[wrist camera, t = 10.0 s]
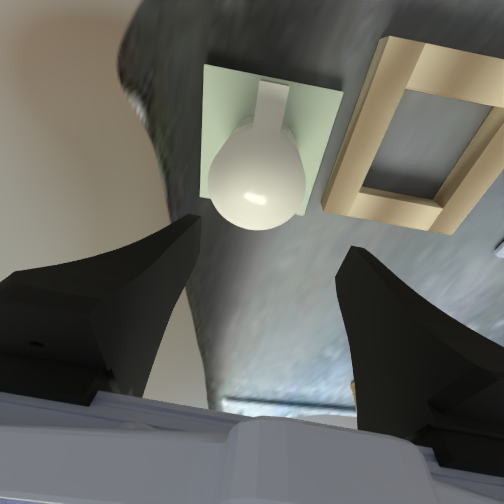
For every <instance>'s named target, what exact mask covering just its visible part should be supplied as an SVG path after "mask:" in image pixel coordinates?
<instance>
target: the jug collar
mask: <svg viewBox="0 0 504 504" xmlns="http://www.w3.org/2000/svg"><path fill="white" fill-rule="evenodd" d="M405 89H410V90H415V91H420V92H425V93H430V94H435V95H440V96H445V97H450V98H455V99H459V100H464V101H469V102H474V103H479V104H484V105H489V106H494V107H493V108H492V110H491V112H490V113H489V115H488V116H487V118H486V119H485V121H484V122H483V124H482V125H481V127H480V128H479V130H478V131H477V133H476V134H475V136H474V137H473V139H472V140H471V142H470V143H469V145H468V146H467V148H466V149H465V151H464V153H463V154H462V156H461V157H460V159H459V160H458V162H457V163H456V165H455V166H454V168H453V169H452V171H451V172H450V174H449V175H448V177H447V178H446V180H445V181H444V183H443V184H442V186H441V187H440V189H439V191H438V192H437V194H436V195H435V197H434V198H433V200H431V199H425V198H420V197H415V196H410V195H404V194H399V193H394V192H389V191H383V190H378V189H373V188H368V187H362V184H363V181H364V179H365V177H366V175H367V173H368V170H369V168H370V166H371V164H372V161H373V159H374V157H375V155H376V153H377V150H378V148H379V146H380V144H381V141H382V139H383V137H384V135H385V133H386V130H387V128H388V126H389V124H390V121H391V119H392V117H393V115H394V113H395V110H396V108H397V106H398V104H399V101H400V99H401V97H402V95H403V93H404V90H405ZM503 169H504V59H500V58H495V57H490V56H485V55H480V54H475V53H471V52H466V51H461V50H456V49H451V48H447V47H442V46H437V45H432V44H427V43H422V42H418V41H413V40H408V39H403V38H398V37H393V36H388V37H385V38H382V39H380V40H379V42H378V45H377V48H376V51H375V53H374V56H373V59H372V62H371V65H370V67H369V70H368V73H367V76H366V78H365V81H364V84H363V87H362V90H361V92H360V95H359V98H358V101H357V103H356V106H355V109H354V112H353V115H352V117H351V120H350V123H349V126H348V128H347V131H346V134H345V137H344V140H343V142H342V145H341V148H340V151H339V153H338V156H337V159H336V162H335V164H334V167H333V170H332V173H331V176H330V178H329V181H328V184H327V187H326V189H325V192H324V195H323V198H322V201H321V205H322V208H323V211H324V212H330V213H335V214H340V215H346V216H351V217H356V218H362V219H367V220H372V221H378V222H383V223H389V224H394V225H399V226H405V227H410V228H415V229H421V230H426V231H431V232H437V233H442V234H447V235H452V234H453V233H454V231H455V230H456V229H457V228H458V226H459V225H460V224H461V222H462V221H463V220H464V219H465V217H466V216H467V215H468V214H469V212H470V211H471V210H472V208H473V207H474V206H475V205H476V203H477V202H478V201H479V200H480V198H481V197H482V196H483V194H484V193H485V192H486V191H487V189H488V188H489V187H490V186H491V184H492V183H493V182H494V180H495V179H496V178H497V177H498V175H499V174H500V173H501V172H502V170H503Z"/></svg>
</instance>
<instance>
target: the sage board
mask: <svg viewBox="0 0 504 504" xmlns="http://www.w3.org/2000/svg"><path fill="white" fill-rule="evenodd" d="M261 79H265V80H270V81H275V82H280V83H285V84H288V85H289V86H290V88H289V93H288V97H287V102H286V107H285V112H284V116H283V121H284V122H285V123H286V124H287V125H288V126H289V127H290V129H291V130H292V132H293V134H294V137H295V140H296V143H297V147H298V150H299V154H300V157H301V161H302V164H303V168H304V172H305V177H306V190H305V195H304V198H303V201H302V203H301V205H300V207H299V209H298V210H297V211H296V213H295V214H296V215H301V216H304V213H305V210H306V207H307V204H308V200H309V197H310V194H311V191H312V188H313V185H314V182H315V179H316V176H317V173H318V170H319V167H320V164H321V160H322V157H323V154H324V151H325V148H326V145H327V142H328V139H329V136H330V133H331V130H332V127H333V124H334V121H335V117H336V114H337V111H338V108H339V105H340V102H341V99H342V96H343V93H344V92H341V91H336V90H331V89H326V88H321V87H316V86H311V85H306V84H301V83H296V82H291V81H287V80H282V79H277V78H272V77H267V76H262V75H257V74H252V73H247V72H242V71H237V70H232V69H227V68H222V67H217V66H212V65H207V64H204V83H203V114H202V146H201V177H200V197H204V198H210V194H209V190H208V173H209V169H210V166H211V163H212V161H213V159H214V158H215V156H216V154H217V153H218V152H219V150H220V149H221V148H222V146H223V145H224V143H225V142H226V141H227V139H228V138H229V136H230V135H231V134H232V132H233V131H234V130H235V128H236V127H237V126H238V124H239V123H241V122H242V121H243V120H244V119H246V118H247V117H249V116H252V115H255V108H256V101H257V94H258V88H259V81H260V80H261ZM210 199H211V198H210Z"/></svg>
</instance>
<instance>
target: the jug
mask: <svg viewBox="0 0 504 504" xmlns="http://www.w3.org/2000/svg"><path fill="white" fill-rule="evenodd" d="M289 88H290V86H289V85H288V84H285V83H280V82H275V81H270V80H265V79H261V80H260V81H259V88H258V94H257V101H256V108H255V115H252V116H249V117H247V118H246V119H244V120H243V121H242V122H241V123H239V124H238V126H237V127H236V128H235V130H234V131H233V132H232V134H231V135H230V136H229V138H228V139H227V141H226V142H225V143H224V145H223V146H222V148H221V149H220V150H219V152H218V153H217V154H216V156H215V158H214V159H213V161H212V163H211V166H210V169H209V173H208V190H209V194H210V198H211V200H212V202H213V204H214V206H215V207H216V209H217V210H218V212H219V213H220V214H221V215H222V216H223V217H224V218H225V219H227V220H228V221H230V222H231V223H233V224H235V225H237V226H239V227H242V228H245V229H250V230H266V229H271V228H274V227H277V226H279V225H281V224H283V223H284V222H286V221H287V220H289V219H290V218H291V217H292V216H293V215H294V214H295V213H296V211H297V210H298V209H299V207H300V205H301V203H302V201H303V198H304V195H305V190H306V177H305V172H304V168H303V164H302V161H301V157H300V154H299V150H298V147H297V143H296V140H295V137H294V134H293V132H292V130H291V129H290V127H289V126H288V125H287V124H286V123H285V122H284V121H283V116H284V112H285V107H286V102H287V97H288V93H289Z"/></svg>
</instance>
